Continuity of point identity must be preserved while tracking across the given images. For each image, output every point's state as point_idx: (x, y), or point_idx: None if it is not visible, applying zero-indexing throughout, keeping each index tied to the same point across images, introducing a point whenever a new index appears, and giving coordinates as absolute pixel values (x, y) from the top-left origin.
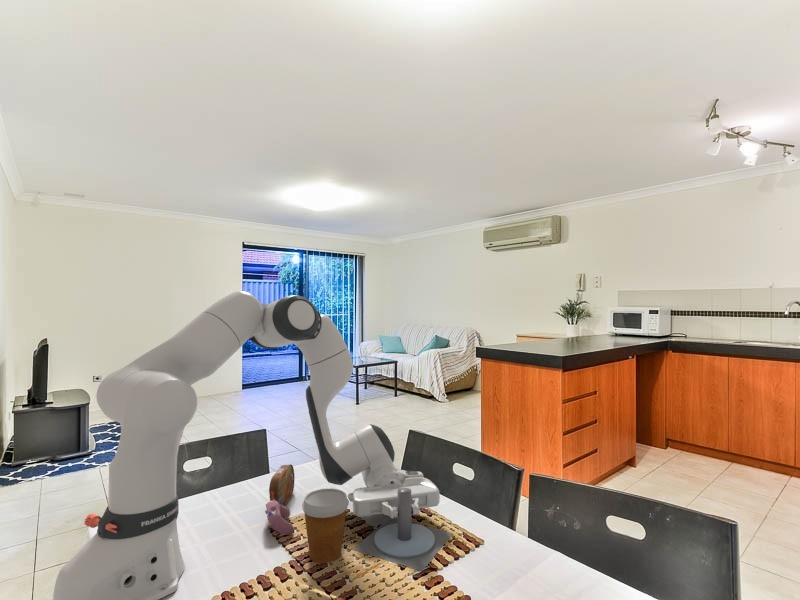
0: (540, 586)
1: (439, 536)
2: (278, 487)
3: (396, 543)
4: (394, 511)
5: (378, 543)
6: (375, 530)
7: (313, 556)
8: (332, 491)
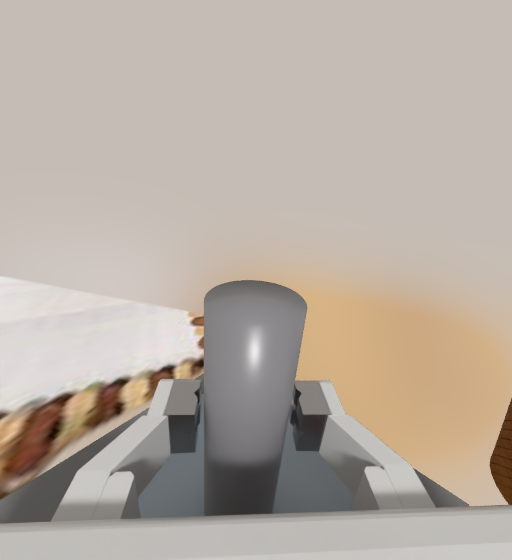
0: (64, 297)
1: (55, 509)
2: None
3: (284, 458)
4: (310, 381)
5: None
6: None
7: None
8: None
